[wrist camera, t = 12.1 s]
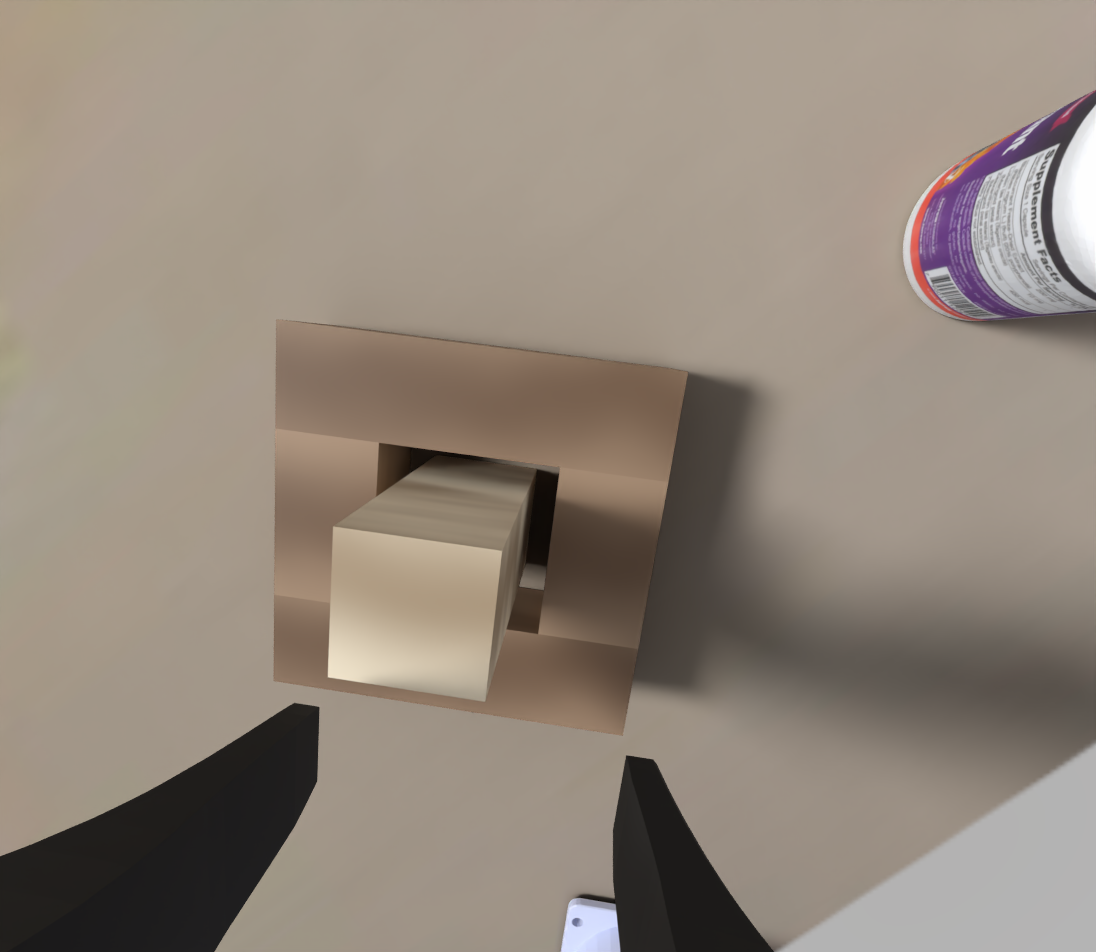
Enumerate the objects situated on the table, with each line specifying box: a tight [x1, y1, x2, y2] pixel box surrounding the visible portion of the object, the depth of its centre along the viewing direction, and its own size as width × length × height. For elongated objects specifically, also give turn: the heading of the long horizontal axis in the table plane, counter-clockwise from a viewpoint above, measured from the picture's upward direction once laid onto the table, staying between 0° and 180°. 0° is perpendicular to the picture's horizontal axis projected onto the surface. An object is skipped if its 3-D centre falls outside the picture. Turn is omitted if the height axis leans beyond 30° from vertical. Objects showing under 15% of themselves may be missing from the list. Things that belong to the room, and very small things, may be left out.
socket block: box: [274, 319, 688, 736], centre depth 20 cm, size 13×13×4 cm
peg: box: [328, 455, 537, 702], centre depth 17 cm, size 4×4×9 cm
